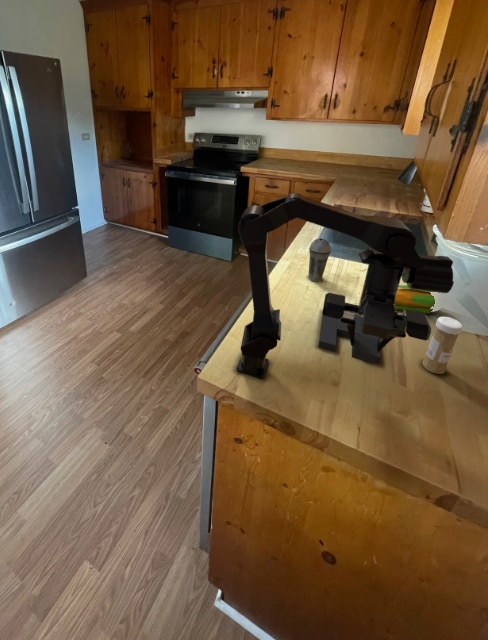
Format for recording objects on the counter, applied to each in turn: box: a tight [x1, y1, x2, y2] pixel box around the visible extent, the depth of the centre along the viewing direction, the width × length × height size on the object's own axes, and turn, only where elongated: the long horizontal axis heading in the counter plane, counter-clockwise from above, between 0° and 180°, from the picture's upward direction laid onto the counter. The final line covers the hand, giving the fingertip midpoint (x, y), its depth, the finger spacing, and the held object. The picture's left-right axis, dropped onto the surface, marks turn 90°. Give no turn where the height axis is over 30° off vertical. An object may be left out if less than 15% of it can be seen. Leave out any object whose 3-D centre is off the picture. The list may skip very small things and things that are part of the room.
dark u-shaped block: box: [317, 313, 381, 364], centre depth 91 cm, size 18×14×2 cm
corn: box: [394, 284, 435, 314], centre depth 102 cm, size 7×8×20 cm
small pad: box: [351, 334, 378, 365], centre depth 70 cm, size 6×4×2 cm
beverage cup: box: [308, 228, 332, 282], centre depth 117 cm, size 7×7×20 cm
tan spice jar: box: [422, 316, 463, 375], centre depth 77 cm, size 5×5×14 cm
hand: (364, 347), depth 70 cm, fingers closed on small pad, 4 cm apart
